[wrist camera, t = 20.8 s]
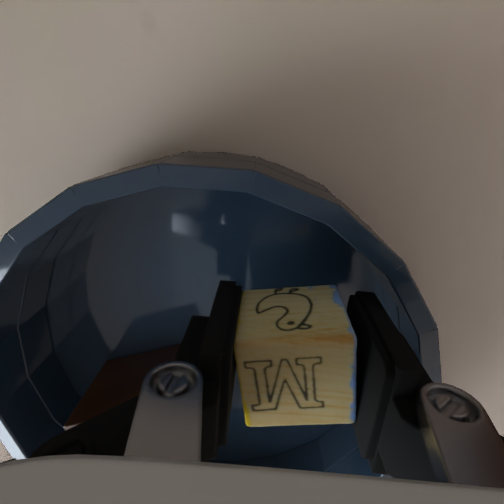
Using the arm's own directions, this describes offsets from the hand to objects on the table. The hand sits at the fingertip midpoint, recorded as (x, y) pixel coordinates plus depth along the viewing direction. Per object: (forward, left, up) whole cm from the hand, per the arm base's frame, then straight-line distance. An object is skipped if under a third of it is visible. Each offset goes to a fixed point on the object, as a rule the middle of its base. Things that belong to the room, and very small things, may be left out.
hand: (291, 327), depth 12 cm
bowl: (+3, +2, -3) cm, 5 cm away
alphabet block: (0, 0, 0) cm, 0 cm away
